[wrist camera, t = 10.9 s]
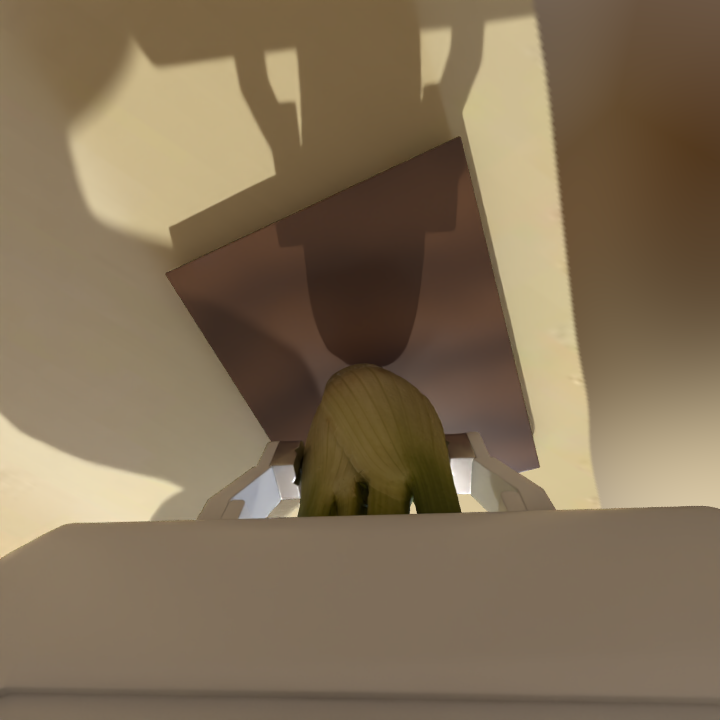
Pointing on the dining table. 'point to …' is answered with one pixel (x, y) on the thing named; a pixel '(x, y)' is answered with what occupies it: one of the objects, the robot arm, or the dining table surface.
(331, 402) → the fennel bulb
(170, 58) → the dining table surface
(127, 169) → the dining table surface
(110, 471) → the dining table surface
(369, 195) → the cutting board
